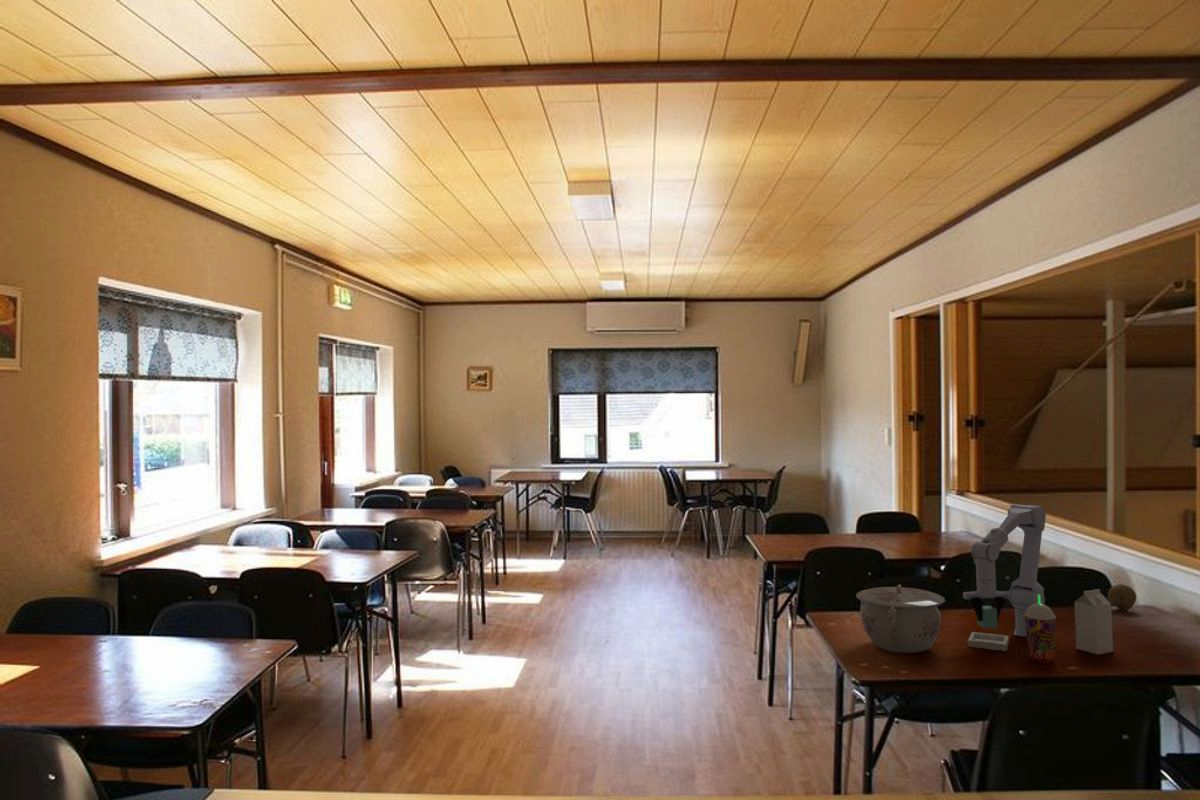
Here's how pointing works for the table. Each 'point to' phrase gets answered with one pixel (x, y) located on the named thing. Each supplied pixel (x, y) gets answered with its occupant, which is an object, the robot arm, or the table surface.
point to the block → (988, 617)
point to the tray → (988, 641)
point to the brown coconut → (1122, 597)
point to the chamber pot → (901, 618)
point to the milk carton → (1093, 623)
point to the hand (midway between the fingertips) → (987, 620)
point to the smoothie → (1040, 632)
